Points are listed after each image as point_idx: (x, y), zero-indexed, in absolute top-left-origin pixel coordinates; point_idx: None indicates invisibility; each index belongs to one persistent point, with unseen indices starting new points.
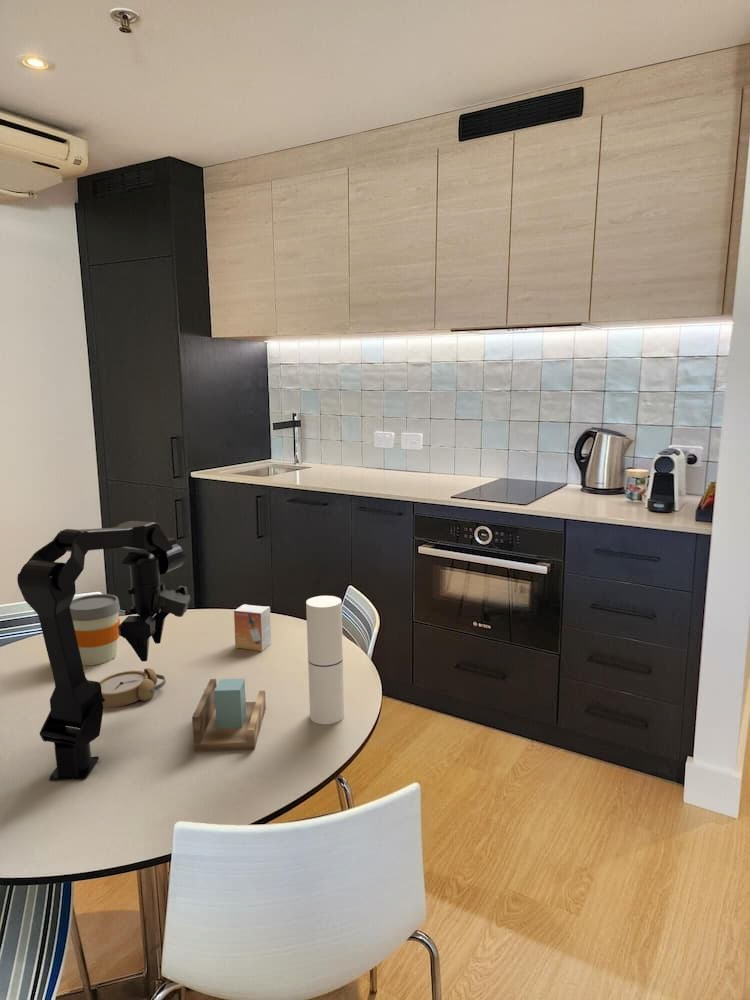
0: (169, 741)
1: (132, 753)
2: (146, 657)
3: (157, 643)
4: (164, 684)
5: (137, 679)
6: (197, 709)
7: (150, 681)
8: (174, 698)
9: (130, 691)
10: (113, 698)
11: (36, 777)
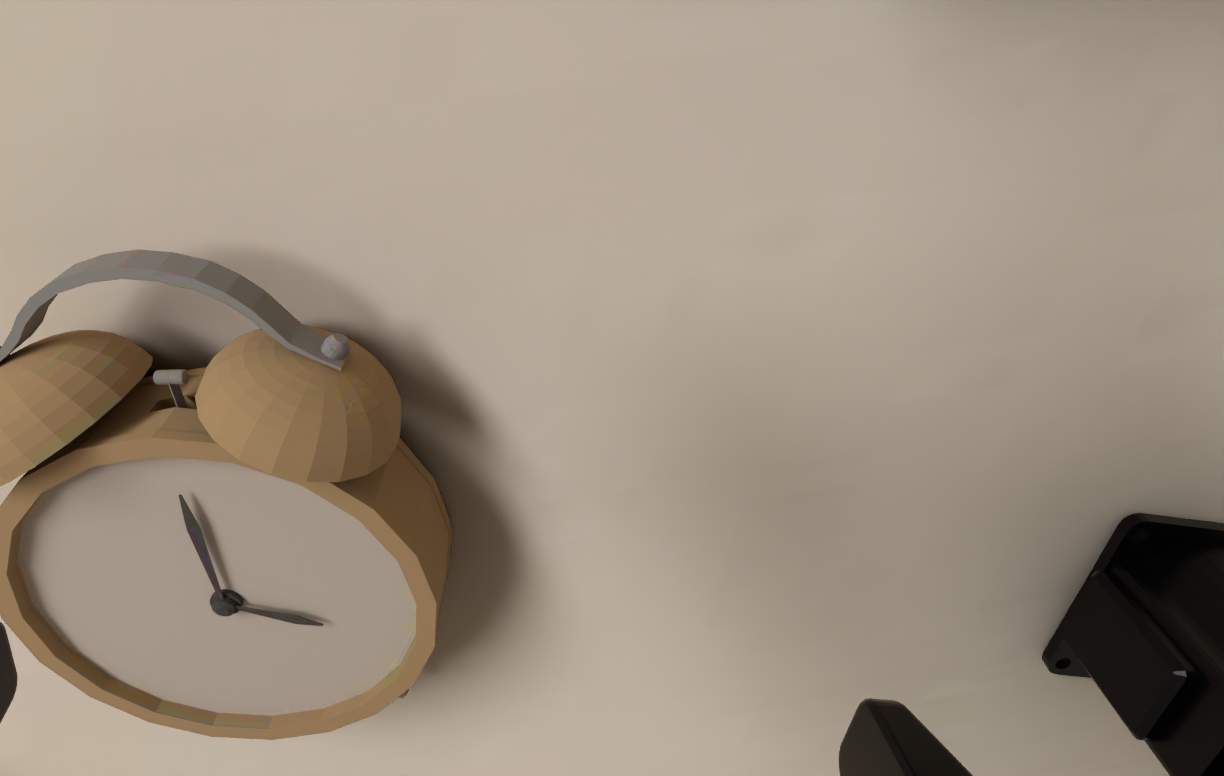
0: (1128, 88)
1: (1156, 338)
2: (961, 768)
3: (9, 651)
4: (184, 256)
5: (154, 507)
6: None
7: (263, 402)
8: (342, 128)
9: (396, 521)
10: (438, 598)
11: None
